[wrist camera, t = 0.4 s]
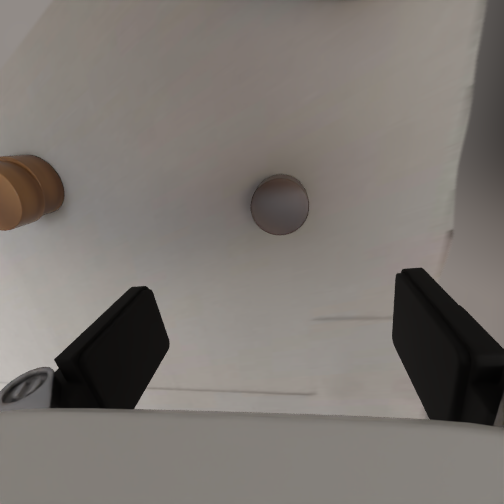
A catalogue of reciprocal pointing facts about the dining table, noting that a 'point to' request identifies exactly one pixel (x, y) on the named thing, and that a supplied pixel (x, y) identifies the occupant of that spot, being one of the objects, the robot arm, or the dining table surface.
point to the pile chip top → (19, 196)
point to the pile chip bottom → (42, 179)
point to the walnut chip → (280, 205)
